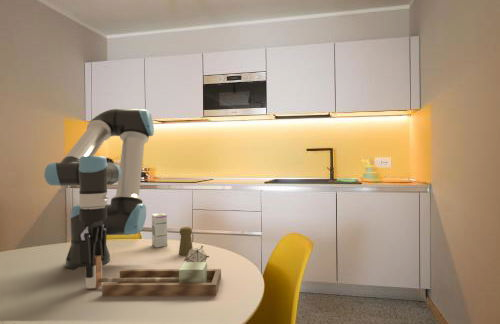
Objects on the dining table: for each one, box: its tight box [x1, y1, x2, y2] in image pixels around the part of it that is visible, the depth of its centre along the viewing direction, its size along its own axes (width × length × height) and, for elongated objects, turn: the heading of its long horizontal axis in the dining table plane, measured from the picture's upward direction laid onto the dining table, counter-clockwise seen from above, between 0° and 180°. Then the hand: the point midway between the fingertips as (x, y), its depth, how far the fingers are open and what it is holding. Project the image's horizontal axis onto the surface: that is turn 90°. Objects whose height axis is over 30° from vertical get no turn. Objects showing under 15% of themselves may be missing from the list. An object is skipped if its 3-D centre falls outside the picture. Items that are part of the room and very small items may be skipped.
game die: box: [183, 245, 210, 262], centre depth 113 cm, size 9×8×10 cm
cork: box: [178, 226, 194, 257], centre depth 133 cm, size 6×6×11 cm
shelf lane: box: [101, 268, 222, 297], centre depth 95 cm, size 32×13×4 cm, turn 89°
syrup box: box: [151, 212, 168, 248], centre depth 146 cm, size 6×6×14 cm
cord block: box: [86, 255, 208, 290], centre depth 95 cm, size 35×7×9 cm, turn 89°
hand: (94, 284), depth 95 cm, fingers closed on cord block, 3 cm apart
